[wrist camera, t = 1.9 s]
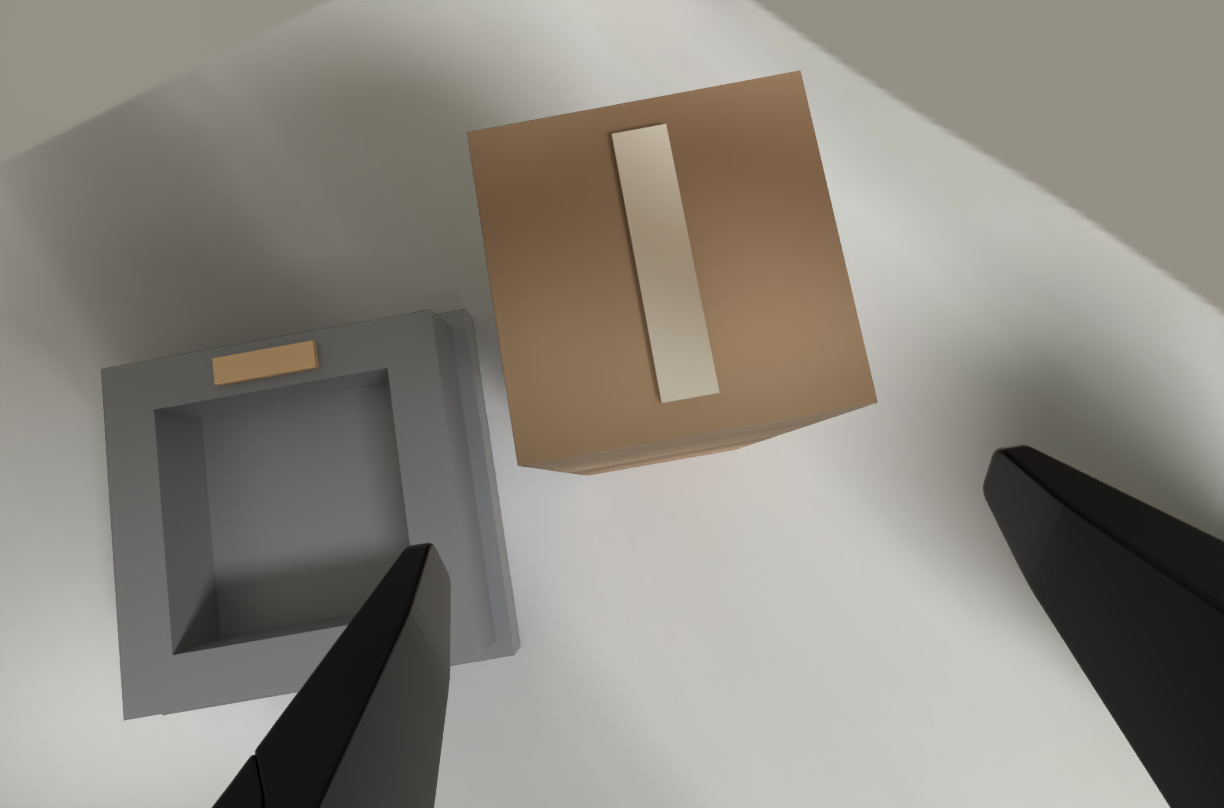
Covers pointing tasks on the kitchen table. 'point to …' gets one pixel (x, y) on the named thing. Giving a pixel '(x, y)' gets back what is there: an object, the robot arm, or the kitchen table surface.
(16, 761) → the kitchen table surface
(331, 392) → the square gray tray
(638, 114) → the tall cardboard box
